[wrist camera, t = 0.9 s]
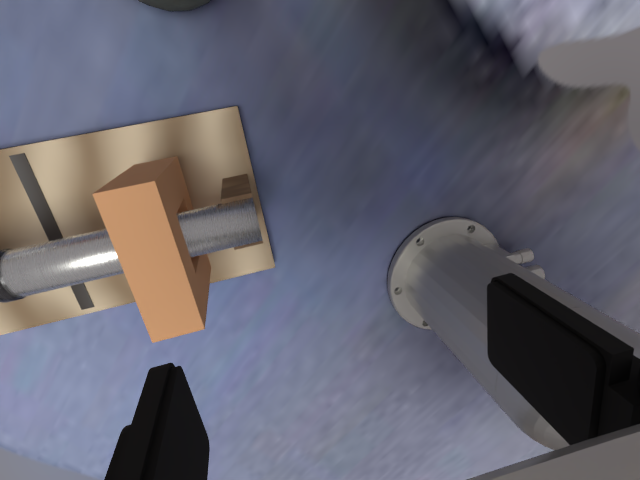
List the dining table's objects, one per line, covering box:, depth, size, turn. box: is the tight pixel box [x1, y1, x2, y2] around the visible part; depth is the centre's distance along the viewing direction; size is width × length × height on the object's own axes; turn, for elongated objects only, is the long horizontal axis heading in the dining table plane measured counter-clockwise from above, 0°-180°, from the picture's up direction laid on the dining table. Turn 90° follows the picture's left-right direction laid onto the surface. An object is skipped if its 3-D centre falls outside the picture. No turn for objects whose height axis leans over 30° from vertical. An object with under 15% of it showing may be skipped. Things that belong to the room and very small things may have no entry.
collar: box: [92, 156, 211, 343], centre depth 25 cm, size 3×9×9 cm, turn 10°
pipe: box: [0, 198, 263, 303], centre depth 24 cm, size 23×3×3 cm, turn 100°
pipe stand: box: [0, 106, 275, 335], centre depth 28 cm, size 24×14×8 cm, turn 100°
